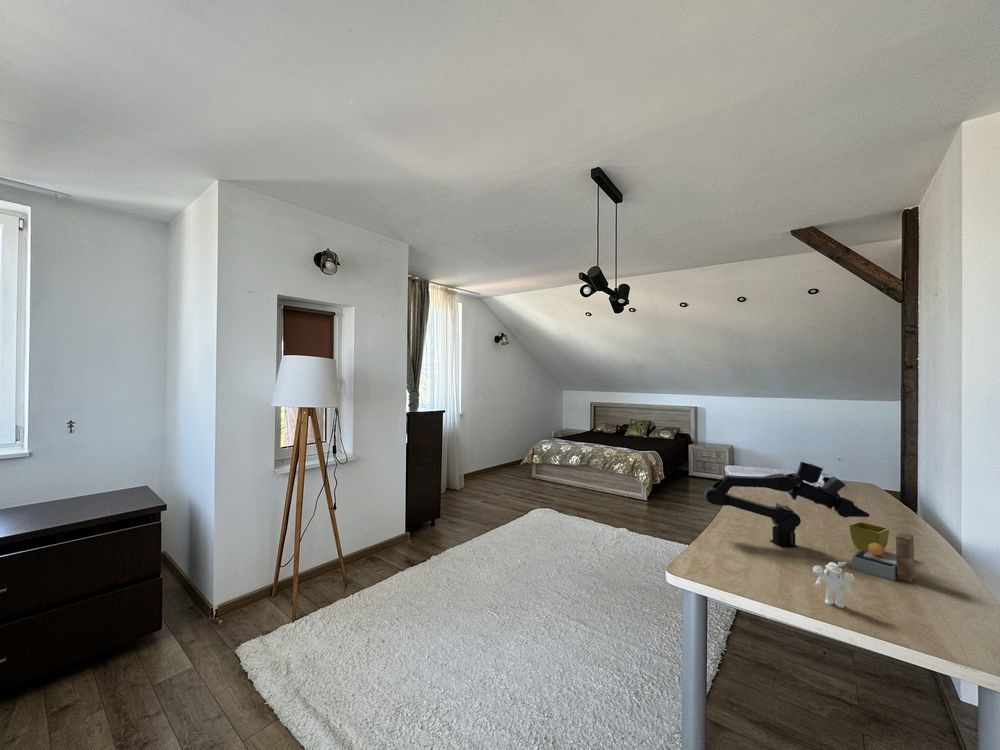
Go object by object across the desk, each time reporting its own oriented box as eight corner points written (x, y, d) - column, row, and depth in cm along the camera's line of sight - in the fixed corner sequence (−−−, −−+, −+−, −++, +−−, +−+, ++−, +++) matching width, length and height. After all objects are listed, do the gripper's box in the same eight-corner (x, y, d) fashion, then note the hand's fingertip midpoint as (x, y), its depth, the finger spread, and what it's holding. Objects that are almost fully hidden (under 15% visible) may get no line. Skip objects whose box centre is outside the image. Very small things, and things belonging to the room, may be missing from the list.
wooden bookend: (863, 569, 130) (862, 529, 130) (869, 564, 133) (867, 525, 134) (910, 582, 121) (909, 539, 121) (914, 576, 125) (913, 535, 125)
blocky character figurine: (855, 606, 108) (854, 562, 108) (856, 612, 105) (854, 567, 105) (813, 595, 114) (812, 553, 114) (812, 600, 111) (811, 557, 111)
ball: (876, 558, 128) (876, 545, 128) (864, 552, 132) (864, 540, 132) (888, 557, 128) (887, 545, 128) (876, 552, 132) (875, 540, 132)
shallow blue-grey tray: (852, 568, 131) (852, 556, 131) (860, 561, 136) (860, 549, 137) (894, 580, 122) (894, 567, 123) (901, 572, 128) (901, 559, 128)
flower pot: (880, 558, 139) (879, 532, 139) (849, 549, 146) (848, 525, 147) (890, 553, 143) (889, 528, 143) (860, 545, 150) (859, 521, 151)
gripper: (830, 478, 139) (885, 498, 133) (811, 468, 156) (859, 485, 150) (818, 507, 140) (872, 528, 134) (801, 494, 157) (848, 512, 151)
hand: (862, 511), depth 142 cm, fingers open, 9 cm apart
